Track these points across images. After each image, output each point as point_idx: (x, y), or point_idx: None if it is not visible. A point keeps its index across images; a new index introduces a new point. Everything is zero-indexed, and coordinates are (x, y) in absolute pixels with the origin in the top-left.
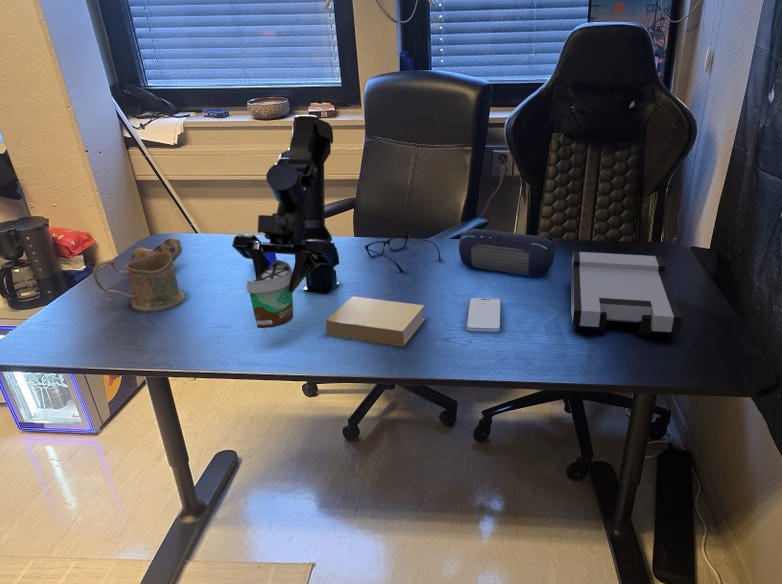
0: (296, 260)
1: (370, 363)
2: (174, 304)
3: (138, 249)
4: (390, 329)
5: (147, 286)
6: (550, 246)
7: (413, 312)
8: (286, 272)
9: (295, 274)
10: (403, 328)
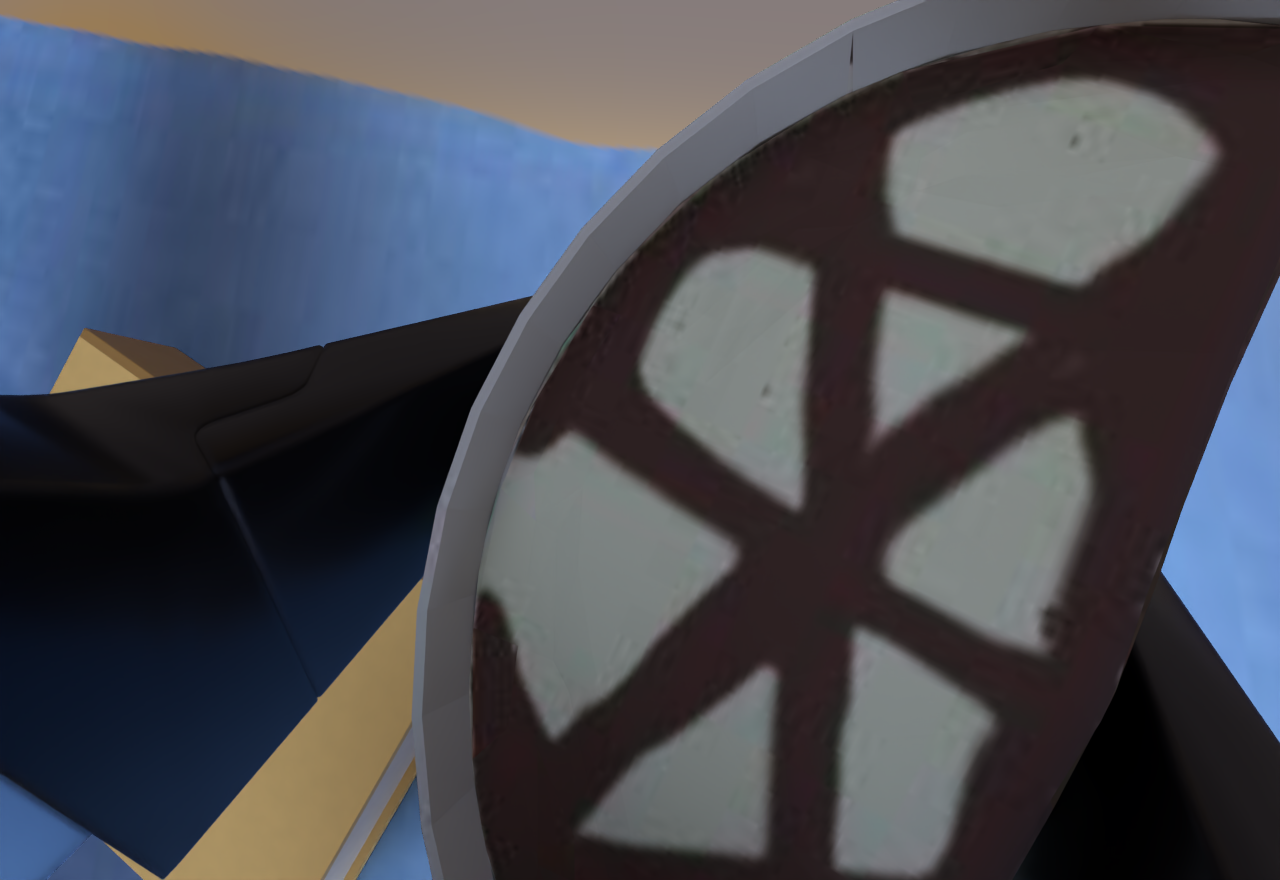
0: (59, 463)
1: (345, 203)
2: None
3: None
4: (135, 367)
5: None
6: None
7: None
8: (546, 643)
9: (365, 354)
10: (72, 365)
